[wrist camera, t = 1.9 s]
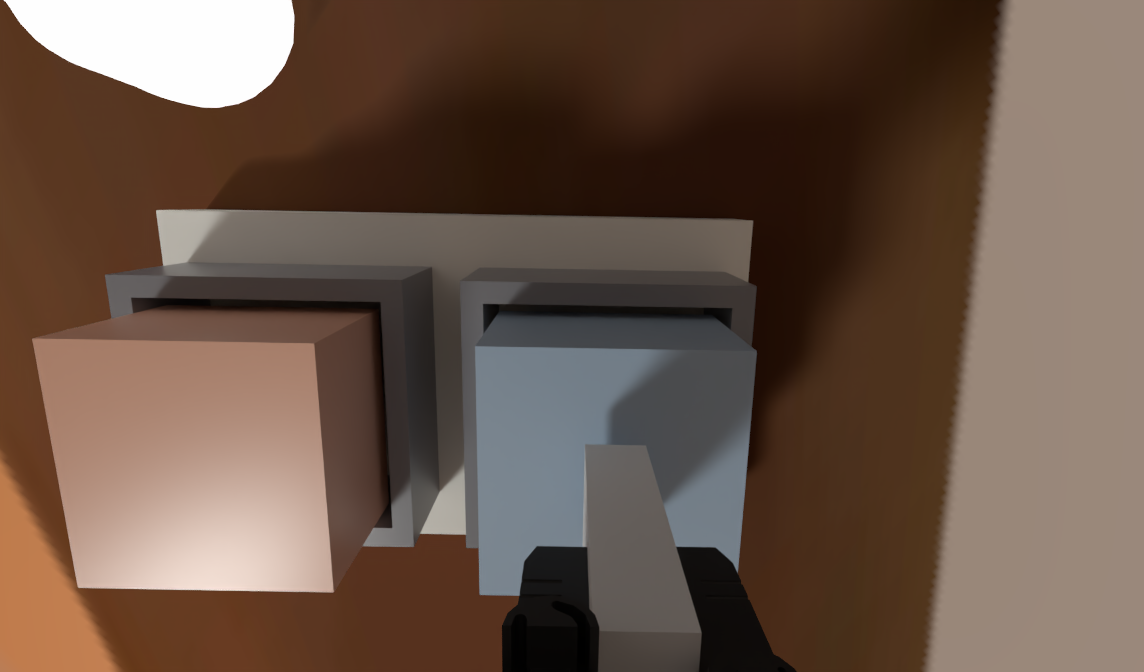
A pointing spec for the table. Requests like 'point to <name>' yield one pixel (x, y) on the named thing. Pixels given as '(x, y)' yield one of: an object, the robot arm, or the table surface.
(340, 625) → the table surface
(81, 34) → the figurine
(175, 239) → the key housing
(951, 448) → the table surface
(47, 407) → the terracotta key
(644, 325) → the slate blue key
